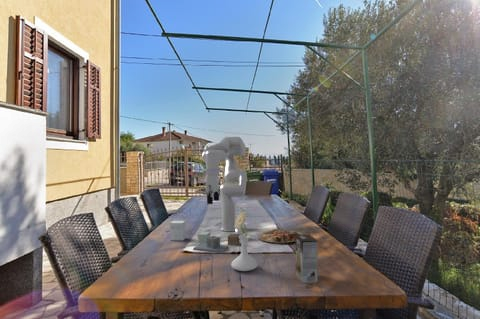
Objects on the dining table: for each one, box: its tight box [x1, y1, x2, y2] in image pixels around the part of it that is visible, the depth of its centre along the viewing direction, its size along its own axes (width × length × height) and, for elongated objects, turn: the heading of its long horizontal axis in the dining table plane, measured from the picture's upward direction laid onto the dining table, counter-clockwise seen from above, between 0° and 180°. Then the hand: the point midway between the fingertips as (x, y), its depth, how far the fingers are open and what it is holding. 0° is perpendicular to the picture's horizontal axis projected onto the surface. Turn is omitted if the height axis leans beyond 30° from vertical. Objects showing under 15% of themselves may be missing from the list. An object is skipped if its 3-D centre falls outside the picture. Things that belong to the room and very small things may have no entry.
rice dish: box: [257, 228, 305, 244], centre depth 168 cm, size 28×28×5 cm
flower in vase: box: [230, 211, 258, 272], centre depth 120 cm, size 13×11×25 cm
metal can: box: [234, 227, 245, 235], centre depth 168 cm, size 5×5×6 cm
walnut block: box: [227, 233, 241, 246], centre depth 157 cm, size 6×5×5 cm
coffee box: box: [294, 233, 319, 284], centre depth 111 cm, size 9×6×16 cm
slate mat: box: [193, 243, 229, 253], centre depth 149 cm, size 9×16×1 cm, turn 73°
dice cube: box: [206, 235, 221, 249], centre depth 149 cm, size 5×5×5 cm
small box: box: [169, 220, 187, 241], centre depth 167 cm, size 8×6×10 cm
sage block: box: [197, 230, 211, 244], centre depth 162 cm, size 6×5×5 cm
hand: (213, 202), depth 160 cm, fingers open, 9 cm apart
